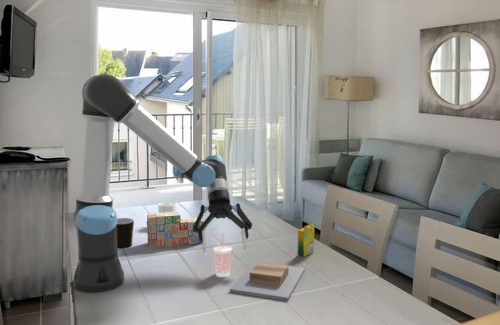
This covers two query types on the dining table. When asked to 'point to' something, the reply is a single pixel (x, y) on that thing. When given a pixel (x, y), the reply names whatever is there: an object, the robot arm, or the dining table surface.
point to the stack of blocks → (171, 230)
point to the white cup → (166, 207)
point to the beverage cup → (222, 259)
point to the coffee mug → (124, 232)
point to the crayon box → (306, 240)
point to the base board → (267, 290)
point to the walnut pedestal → (269, 273)
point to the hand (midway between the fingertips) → (225, 248)
